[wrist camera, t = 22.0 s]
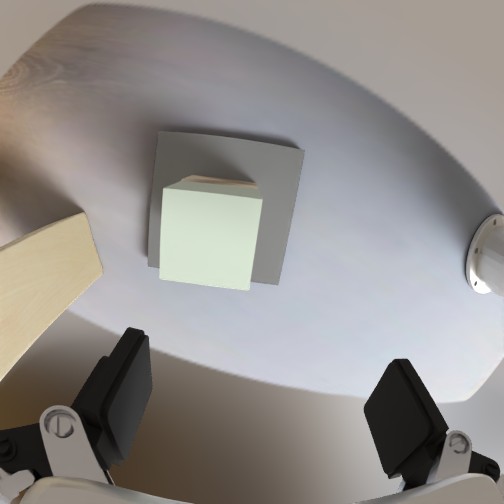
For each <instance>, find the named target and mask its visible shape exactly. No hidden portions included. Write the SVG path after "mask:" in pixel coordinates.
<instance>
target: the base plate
mask: <svg viewBox="0 0 504 504" xmlns="http://www.w3.org/2000/svg"><path fill="white" fill-rule="evenodd" d="M304 152H305V150H301V149H296V148H291V147H286V146H281V145H275V144H270V143H264V142H258V141H251V140H245V139H238V138H230V137H223V136H214V135H205V134H195V133H184V132H170V131H159V133H158V140H157V147H156V155H155V163H154V172H153V182H152V192H151V205H150V219H149V239H148V266H149V267H155V268H160V235H161V214H162V199H163V188H165V187H167V186H170V185H172V184H175V183H177V182H180V181H181V179H183V178H186V177H189V176H191V175H198V176H207V177H215V178H223V179H230V180H238V181H245V182H251V183H256V184H257V187H258V190H259V191H260V194H261V196H262V199H263V201H262V208H261V214H260V221H259V227H258V234H257V241H256V247H255V254H254V260H253V267H252V274H251V280H250V282H257V283H264V284H272V285H278V283H279V279H280V274H281V270H282V265H283V260H284V256H285V251H286V246H287V241H288V236H289V231H290V226H291V221H292V216H293V211H294V206H295V201H296V196H297V190H298V185H299V180H300V174H301V169H302V163H303V157H304Z"/></svg>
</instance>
